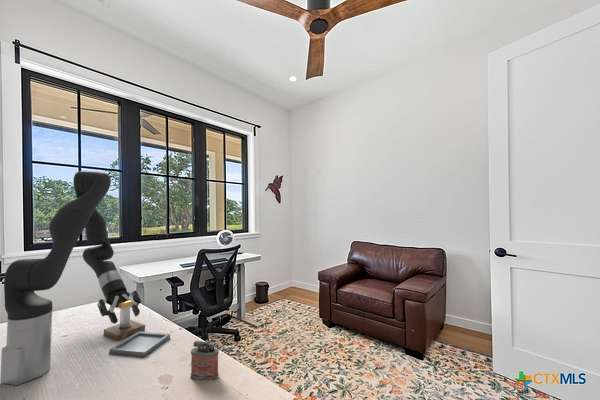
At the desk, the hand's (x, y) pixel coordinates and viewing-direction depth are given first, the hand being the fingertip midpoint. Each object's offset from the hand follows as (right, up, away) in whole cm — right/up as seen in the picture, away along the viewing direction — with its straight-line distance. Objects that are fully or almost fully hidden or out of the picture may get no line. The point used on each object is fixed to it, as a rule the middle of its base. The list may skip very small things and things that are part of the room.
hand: (127, 318), depth 103 cm
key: (-1, -6, 0) cm, 6 cm away
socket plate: (-1, -6, 0) cm, 6 cm away
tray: (+11, -5, -10) cm, 16 cm away
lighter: (+40, -5, -27) cm, 49 cm away
